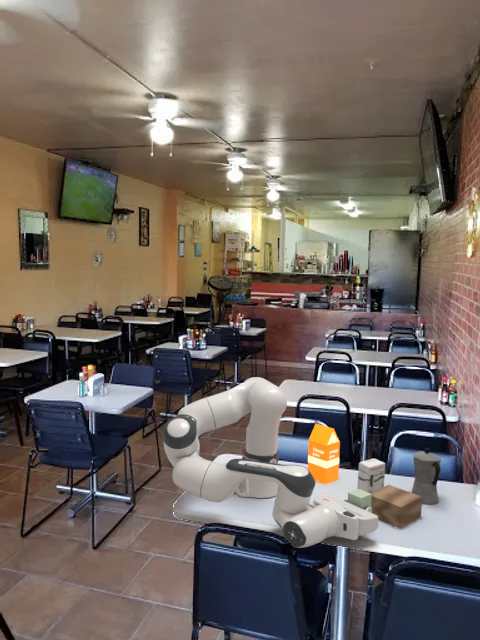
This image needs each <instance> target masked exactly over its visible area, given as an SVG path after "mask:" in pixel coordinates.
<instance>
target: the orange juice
mask: <svg viewBox="0 0 480 640" xmlns="http://www.w3.org/2000/svg"><path fill="white" fill-rule="evenodd" d="M340 446H341V441H340V440H339V437H338V436H337V433H336V431H335V428H332V427H329V426H325V425H322V424H319V423H315V424H314V427H313V429H312V431H311V434H310V436H309V438H308V453H307V469H308V470H309V471H310V472H311V474H312V475H313V477H314V479H315V482H319V483H321V484H324V485H328V484H330V483H332V482H335V481H338V480H339V474H340V473H339V471H340V449H341V447H340Z"/></svg>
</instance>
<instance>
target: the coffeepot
mask: <svg viewBox="0 0 480 640" xmlns="http://www.w3.org/2000/svg"><path fill="white" fill-rule="evenodd" d="M412 457H413V468H414V475H415V478H414V481H413V486H412V489H411V493H413V494H416V495H419V496H421V497H422V505H426V506H427V505H430V506H431V505H436V504H438V503H439V497H438V496H439V495H438V489H437V488H438V487H437V484H438V481H439V477H440V474H441V469H442V468H441V461H442V459H441V456H440V455H437V454H435V453H434V452H430V448H429V447H424V451H423V450H419V451H418V450H416V452H413V453H412Z"/></svg>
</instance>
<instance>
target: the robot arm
mask: <svg viewBox="0 0 480 640" xmlns="http://www.w3.org/2000/svg"><path fill="white" fill-rule="evenodd" d="M287 405H288V400H287V397H286V395H285V393H284V392H283V390H282V389H281V388H280V387H279V386H278V385H276V384H274V383H273V382H271V381H269V380H267V379H265V378H263V377H259V376H256V377H255V376H253V377H249V378H247V379H245V381H244V382H242V383H239V384H238V385H236V386H234V387H232V388H230V389H228V390H226V391H222V392H219V393H216V394H214V395H213V394H212V395H210V396H206V397H203V398H201V399H198V400H196V401H193V402H191V403H189V404H187V405H185V406H184V407H182V408H181V409H179V411H178V414H177V415H176V416H174V417H172V418H171V419H169V420H168V421H167V422H166V423H165V424H164V427H163V429H162V441H163V448H164V452H165V454H166V456H167V461H168V464H169V465H170V467H171V468H172V469H173V470H172V480H173V484H174V485H176V487H178V488H179V489H181V490H183V491H185V492H187V493H188V494H191V495H193V496H195V497H198V498H201V499H204V500H205V501H209V502H213V503H222V502H224V501H226V500H228V499H229V498H231V497H232V495H233V494H234V493H235V494H236V495H237V496H238V497H240V498H257V499H267V498H268V499H269V498H274V497H275V499H274V503H273V507H272V518H273V520H274V521H275V523H276V524H277V525H278V527H280V528H281V530H282V534H283V537H284V539H285V541H286V540H287V541H288V542H289V543H291V545H292V546H291V545H290V546H291V547H294V548H299V549H302V548H308V547H311V546H315V545H316V544H319V543H321V542H322V541H324V540H325V539H326V538H327V539H328V538H331V537H337V538H344V539H347V540H351V541H357V540H358V538H359V536H360V537H362V536H366V535H368V534H370V533H373V532H374V531H377V529H378V528H379V520H378V516H377V515H375V514H373V513H371V512H372V507H369V506H365V507H364V509H365V510H364V509H361V508H359V507H357V506H355V505H352V504H350V503H348V498H346V499H345V498H339V497H336V496H335V495H331V494H330V493H322V494H320V495H319V496H316V497H314V499H313V501H311V497H312V495H313V492H314V489H315V487H316V480H315V479H314V477H313V475H312V474H311V472H310V471H309V470H308V467H305V466H303V465H299V464H283V463H282V464H280V463H278V462H279V458H280V456H279V455H280V453H279V450H278V446H279V445H278V443H279V442H278V441H279V438H278V437H279V427H280V424H281V419H282V415H283V413H284V412H285V411H286V408H287ZM249 413H251V414H250V419H249V422H248V425H247V427H246V429H245V430H246V434H245V435H246V436H245V448H243V449H240V454H242V457H241V458H232V459H230V460H228V461H227V462H223V463H222V462H221V463H220V462H215V461H212V460H208V459H205V458H204V457H201V452H200V447H201V446H200V440H199V437H200V436H202V435H203V434H204V433H207V432H210V431H211V432H212V431H214V430H217V429H220V428H224V427H226V426H230V425H232V424H235V423H237V422H238V421H239V420H240V419H241V418H242V417H243V418H244V417H245V416H246V415H247V414H249ZM287 541H286V542H287ZM288 542H287V543H288ZM289 543H288V544H289Z"/></svg>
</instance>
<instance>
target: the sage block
mask: <svg viewBox="0 0 480 640" xmlns="http://www.w3.org/2000/svg"><path fill="white" fill-rule="evenodd" d="M347 499H348V503H350V504H352V505H355V506H357V507H359V508H361V509H364V507H365V506H369V507H371V500H372V494H370V493H368V492H365V491H363V490H361V489H357V488H356V489H354V490H352V491H349V492H347ZM364 510H365V509H364Z"/></svg>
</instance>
